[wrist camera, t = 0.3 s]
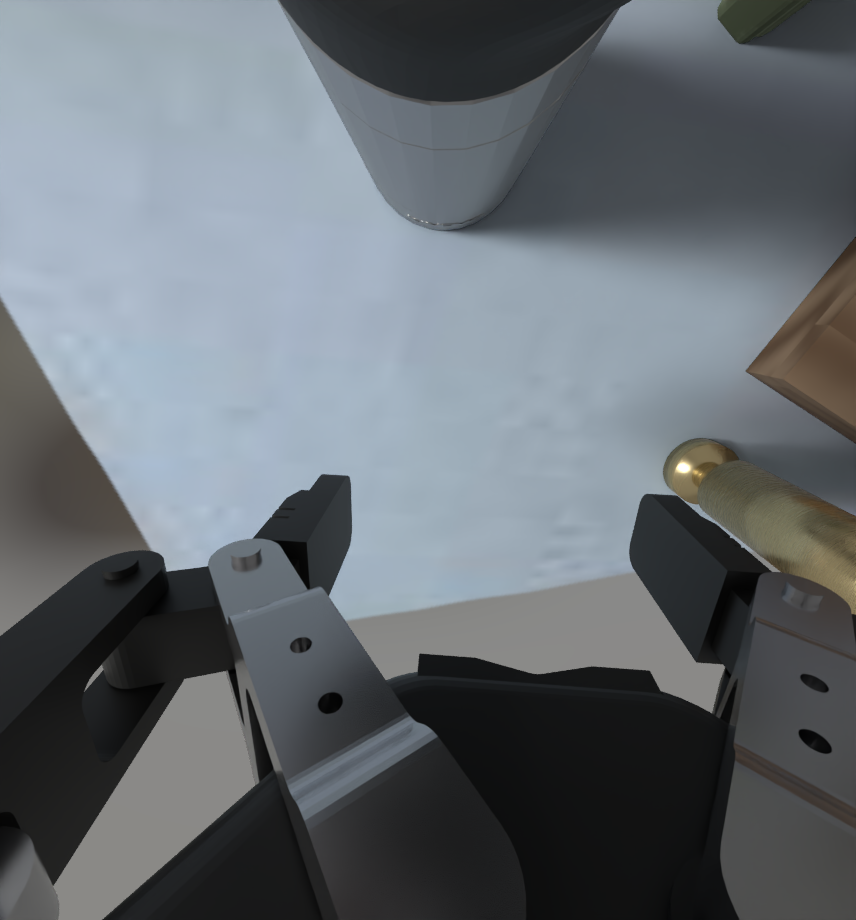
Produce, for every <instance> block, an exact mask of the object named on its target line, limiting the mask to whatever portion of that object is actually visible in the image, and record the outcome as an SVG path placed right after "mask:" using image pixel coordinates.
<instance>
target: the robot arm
mask: <svg viewBox="0 0 856 920" xmlns="http://www.w3.org/2000/svg"><path fill="white" fill-rule="evenodd" d="M630 1H631V0H278V2H279V4H280V6H281V8H282V10H283V12H284V14H285V15H286V17H287V19H288V21H289V23H290V25H291V27H292V29H293V30H294V32H295V34H296V36H297V38H298V40H299V41H300V43H301V45H302V47H303V49H304V51H305V53H306V54H307V56H308V58H309V60H310V62H311V64H312V65H313V67H314V69H315V71H316V73H317V75H318V77H319V78H320V80H321V82H322V84H323V86H324V88H325V90H326V92H327V94H328V95H329V97H330V99H331V101H332V103H333V105H334V107H335V109H336V111H337V112H338V114H339V116H340V118H341V120H342V122H343V124H344V126H345V128H346V130H347V131H348V133H349V135H350V137H351V139H352V141H353V143H354V145H355V147H356V148H357V150H358V152H359V154H360V156H361V158H362V160H363V162H364V164H365V166H366V168H367V170H368V172H369V173H370V175H371V177H372V179H373V181H374V183H375V185H376V186H377V188H378V190H379V191H380V193H381V194H382V196H383V197H384V199H385V200H386V202H387V203H388V204H389V205H390V206H391V207H392V208H393V209H394V210H395V211H396V212H397V213H398V214H399V215H401V216H403V217H404V218H406V219H407V220H409V221H410V222H412V223H414V224H416V225H419V226H422V227H425V228H428V229H435V230H452V229H459V228H463V227H466V226H468V225H471V224H473V223H476V222H478V221H479V220H481V219H482V218H484V217H485V216H487V215H488V214H490V213H491V212H492V211H493V210H494V209H495V208H496V207H497V206H498V205H499V204H500V203H501V202H502V201H503V200H504V198H505V197H506V195H507V194H508V192H509V191H510V189H511V188H512V186H513V185H514V183H515V181H516V180H517V178H518V176H519V175H520V174H521V172H522V170H523V169H524V167H525V165H526V164H527V162H528V160H529V159H530V157H531V155H532V154H533V152H534V150H535V149H536V147H537V145H538V144H539V142H540V140H541V139H542V137H543V135H544V134H545V132H546V131H547V129H548V127H549V126H550V124H551V122H552V121H553V119H554V117H555V116H556V114H557V112H558V111H559V109H560V107H561V106H562V104H563V102H564V101H565V99H566V97H567V96H568V94H569V92H570V91H571V89H572V87H573V86H574V84H575V82H576V81H577V79H578V77H579V76H580V74H581V72H582V71H583V69H584V67H585V66H586V64H587V62H588V60H589V58H590V57H591V55H592V53H593V52H594V50H595V48H596V47H597V45H598V43H599V42H600V40H601V38H602V37H603V35H604V33H605V32H606V30H607V28H608V27H609V25H610V23H611V22H612V20H613V18H614V17H615V15H616V13H617V12H618V10H619V8H620V7H621V6H623V5H625V4H626V3H628V2H630ZM351 534H352V511H351V482H350V478H349V476H343V475H326V474H322V475H321V476H320V477H319V478H318V480H317V481H316V482H315V484H314V485H313V486H312V488H311V489H310V490H309V491H308V490H301V491H299V492H297V493H295V494H293V495H291V496H289V497H288V498H286V500H285V501H284V502H283V503H282V504H281V506H280V507H279V509H277V510H276V511H275V513H274V514H273V515H272V517H270V519H269V520H268V521H267V522H266V523H265V525H264V526H263V527H262V528H261V529H260V531H259V532H258V533H257V534H256V535H255V536H254V538H253V539H246V540H241V541H237V542H233V543H231V544H228V545H226V546H224V547H222V548H220V549H219V550H217V551H216V552H215V553H214V554H213V555H212V556H211V557H210V559H209V562H208V566H207V567H201V568H193V569H185V570H177V571H169V572H166V568H165V563H164V558H163V557H162V556H161V555H160V554H159V553H156V552H152V551H130V552H124V553H120V554H116V555H113V556H110V557H107V558H104V559H102V560H100V561H98V562H95V563H94V564H92V565H90V566H89V567H87V568H86V569H85V570H83V571H82V572H81V573H79V574H78V575H77V576H76V577H74V578H73V579H72V580H71V581H69V582H68V583H67V584H66V585H64V586H63V587H62V588H61V589H59V590H58V591H57V592H55V593H54V594H53V595H52V596H51V597H49V598H48V599H47V600H45V601H44V602H43V603H42V604H40V605H39V606H38V607H37V608H35V609H34V610H33V611H32V612H30V613H29V614H28V615H26V616H25V617H24V618H23V619H21V620H20V621H19V622H18V623H16V624H15V625H14V626H13V627H11V628H10V629H9V630H8V631H6V632H5V633H4V634H3V635H1V636H0V920H58V917H59V901H58V896H57V894H56V891H55V889H54V887H53V885H54V884H55V882H56V881H57V879H58V878H59V876H60V875H61V873H62V871H63V870H64V868H65V867H66V865H67V864H68V862H69V860H70V859H71V857H72V856H73V854H74V853H75V851H76V849H77V848H78V846H79V845H80V843H81V842H82V840H83V838H84V837H85V835H86V834H87V832H88V830H89V829H90V827H91V825H92V824H93V822H94V821H95V819H96V818H97V816H98V815H99V813H100V812H101V810H102V808H103V807H104V805H105V804H106V802H107V801H108V799H109V797H110V796H111V794H112V793H113V791H114V789H115V788H116V786H117V785H118V783H119V782H120V780H121V778H122V777H123V775H124V774H125V772H126V770H127V769H128V767H129V766H130V764H131V763H132V761H133V759H134V758H135V756H136V754H137V753H138V752H139V750H140V748H141V747H142V745H143V744H144V742H145V741H146V739H147V737H148V736H149V734H150V733H151V731H152V730H153V728H154V726H155V725H156V723H157V722H158V720H159V718H160V717H161V715H162V714H163V712H164V711H165V709H166V707H167V706H168V704H169V703H170V701H171V700H172V698H173V696H174V695H175V693H176V692H177V690H178V689H179V687H180V685H181V684H182V682H183V680H184V679H186V678H191V677H196V676H202V675H207V674H211V673H217V672H223V671H226V673H227V678H228V681H229V685H230V688H231V692H232V695H233V699H234V702H235V706H236V710H237V713H238V716H239V720H240V724H241V727H242V731H243V734H244V738H245V742H246V745H247V750H248V754H249V758H250V763H251V768H252V773H253V777H254V781H255V786H254V787H253V788H252V789H251V790H250V791H249V792H248V793H246V794H245V795H244V796H243V797H242V798H241V799H239V801H237V802H236V803H235V804H234V805H233V806H231V807H230V808H229V809H228V810H227V811H226V812H225V813H224V814H222V815H221V816H220V817H219V818H218V819H217V820H216V821H214V822H213V823H212V824H211V825H210V826H209V827H208V828H206V829H205V830H204V831H203V832H202V833H201V834H200V835H198V836H197V837H196V838H195V839H194V840H193V841H192V842H191V843H189V844H188V845H187V846H186V847H185V848H184V849H183V850H181V851H180V852H179V853H178V854H177V855H176V856H174V857H173V858H172V859H171V860H170V861H169V862H168V863H167V864H165V865H164V866H163V867H162V868H161V869H160V870H158V871H157V872H156V873H155V874H154V875H153V876H152V877H150V878H149V879H148V880H147V881H146V882H145V883H144V884H142V885H141V886H140V887H139V888H138V889H137V890H136V891H135V892H134V893H132V894H131V895H130V896H129V897H128V898H126V899H125V900H124V901H123V902H122V903H121V904H120V905H118V906H117V907H116V908H115V909H114V910H113V911H112V912H110V913H109V914H108V915H107V916H106V917H105V918H104V919H102V920H856V615H855V614H852V613H851V608H850V606H849V605H848V603H847V602H846V601H845V600H844V599H843V598H842V597H840V596H839V595H838V594H836V593H835V592H833V591H832V590H830V589H828V588H826V587H824V586H822V585H820V584H818V583H816V582H814V581H811V580H809V579H806V578H803V577H800V576H796V575H792V574H788V573H782V572H772V571H770V570H769V569H768V568H767V567H766V566H765V565H763V564H762V563H761V562H760V561H758V559H756V558H755V557H754V556H753V555H752V554H751V553H749V552H748V551H747V550H746V549H745V548H741V545H740V544H739V543H738V542H737V541H735V540H734V539H733V538H730V536H729V535H728V534H727V533H726V532H725V531H724V530H722V529H721V528H720V527H719V526H718V525H716V524H715V523H713V522H711V521H709V520H707V519H705V518H703V517H701V516H700V515H699V514H698V513H697V512H695V511H694V510H693V509H692V508H691V507H690V506H689V505H687V504H686V503H685V502H684V501H683V500H682V499H681V498H679V497H678V496H675V495H658V494H646V495H644V496H643V497H642V499H641V502H640V505H639V509H638V513H637V517H636V522H635V526H634V530H633V534H632V538H631V542H630V549H629V554H630V561H631V564H632V567H633V569H634V570H635V572H636V573H637V575H638V576H639V578H640V579H641V581H642V582H643V584H644V585H645V587H646V588H647V590H648V591H649V593H650V594H651V595H652V597H653V598H654V600H655V601H656V603H657V604H658V606H659V607H660V609H661V610H662V612H663V613H664V615H665V616H666V618H667V619H668V621H669V622H670V624H671V625H672V627H673V628H674V630H675V631H676V633H677V634H678V636H679V637H680V639H681V640H682V642H683V643H684V645H685V646H686V648H687V649H688V651H689V652H690V654H691V655H692V657H693V658H694V660H695V661H696V662H699V663H712V664H723V665H724V666H725V669H724V672H723V675H722V677H721V680H720V683H719V687H718V691H717V695H716V699H715V704H714V707H713V711H712V713H710V712H708V711H706V710H704V709H703V708H701V707H699V706H697V705H695V704H692V703H690V702H688V701H686V700H684V699H682V698H679V697H676V696H673V695H671V694H668V693H665V692H661V691H660V689H659V687H658V686H657V684H656V682H655V680H654V678H653V676H652V674H651V672H650V671H646V670H633V669H619V668H606V667H586V668H579V669H572V670H566V671H559V672H552V673H546V674H532V673H527V672H524V671H520V670H516V669H513V668H509V667H506V666H502V665H499V664H495V663H492V662H488V661H485V660H481V659H478V658H471V657H457V656H443V655H430V654H419V664H418V672H414V673H408V674H405V675H401V676H397V677H394V678H391V679H389V680H385V679H384V677H383V676H382V674H381V673H380V671H379V670H378V668H377V667H376V665H375V664H374V663H373V661H372V660H371V658H370V657H369V655H368V654H367V652H366V651H365V649H364V648H363V646H362V645H361V643H360V642H359V641H358V639H357V638H356V636H355V635H354V633H353V632H352V630H351V629H350V628H349V626H348V624H347V623H346V621H345V620H344V618H343V617H342V615H341V614H340V613H339V611H338V610H337V608H336V607H335V605H334V604H333V602H332V601H331V599H330V598H329V594H330V592H331V590H332V587H333V585H334V582H335V580H336V578H337V575H338V573H339V571H340V568H341V566H342V563H343V561H344V559H345V556H346V554H347V551H348V549H349V546H350V542H351ZM101 665H102V666H103V669H104V670H103V671H102V672H101V674H100V675H99V676H98V677H97V678H96V679H95V680H94V682H93V683H92V684H91V685H90V686H89V687H88V688H87V690H86V691H85V692H84V690H85V688H86V685H87V683H88V681H89V679H90V678H91V676H92V675H93V674H94V672H95V671H96V670H97V669H98V668H99V667H100V666H101Z"/></svg>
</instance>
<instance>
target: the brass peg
mask: <svg viewBox="0 0 856 920" xmlns="http://www.w3.org/2000/svg"><path fill="white" fill-rule="evenodd" d="M663 476H664V480H665V483H666V484H667V486H668V487H669V488H670V489H671V490H672V491H673V492H675V493H676V494H677V495H678V496H680V497H681V498H682V499H684V500H685V501H687V502H689V503H693V504H699V505H700V507H701V509H702V510H703V511H704V512H705V513H706V514H707V515H709V516H710V517H711V518H713V519H714V520H715V521H716V522H718V523H719V524H720V525H722V526H723V527H724V528H725V529H727V530H728V531H729V532H731V533H732V534H733V535H734V536H736V537H737V538H738V539H739V540H741V541H742V542H743V543H745V544H746V545H747V546H748V547H750V548H751V549H752V550H754V551H755V552H756V553H757V554H759V555H760V556H761V557H763V558H764V559H765V560H766V561H768V562H769V563H770V564H771V565H773V566H774V567H775V568H777V569H778V570H779V571H780V572H782V573H788V574H792V575H796V576H800V577H803V578H806V579H809V580H811V581H814V582H816V583H818V584H820V585H822V586H824V587H826V588H828V589H830V590H832V591H833V592H835V593H836V594H838V595H839V596H840V597H842V598H843V599H844V600H845V601H846V602H847V603H848V605H849V606H850V608H851V613H852V614H855V615H856V516H854V515H852V514H850V513H848V512H846V511H844V510H842V509H840V508H838V507H836V506H834V505H832V504H830V503H828V502H826V501H824V500H822V499H820V498H818V497H816V496H815V495H813V494H811V493H809V492H807V491H805V490H803V489H801V488H799V487H797V486H795V485H793V484H791V483H789V482H787V481H785V480H783V479H781V478H779V477H777V476H775V475H773V474H771V473H769V472H767V471H765V470H763V469H761V468H759V467H757V466H755V465H753V464H751V463H749V462H746V461H739V459H738V457H737V455H736V454H735V453H734V452H733V451H732V450H730V449H729V448H727V447H725V446H723V445H721V444H719V443H717V442H715V441H713V440H710V439H704V438H698V439H692V440H689V441H686V442H684V443H682V444H680V445H679V446H678V447H676V448H675V449H674V450H673V451H672V452H671V453H670V455H669V456H668V458H667V459H666V462H665V464H664V468H663Z"/></svg>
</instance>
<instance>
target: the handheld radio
mask: <svg viewBox="0 0 856 920" xmlns="http://www.w3.org/2000/svg"><path fill="white" fill-rule="evenodd" d="M810 1H811V0H722V1H721V3H720V5H719V7H718V20H719V21H720V22H721V23H722V25H723V26H724V27H725V28H726V30H727V31H728V32H729V33H730V35H731V36H732V37H733V38H734V40H735V41H736V42H737V43H739V44H741V43H746V42H749V41H750V40H751V39H753V38H754V37H761V36H763V35H765V34H767V33H769V32H770V31H772V30H773V29H775V28H776V27H777V26H779V25H780V24H781V23H783V22H784V21H785V20H786V19H788V18H789V17H790V16H792V15H793V14H794V13H796V12H797V11H798V10H800V9H801V8H802V7H804V6H805V5H806V4H807V3H809V2H810Z"/></svg>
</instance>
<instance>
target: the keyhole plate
mask: <svg viewBox="0 0 856 920" xmlns="http://www.w3.org/2000/svg"><path fill="white" fill-rule="evenodd" d="M746 372H747V373H749V374H750V375H752V376H754V377H755V378H757V379H758V380H760V381H761V382H763V383H764V384H766V385H767V386H769V387H770V388H772V389H773V390H775V391H776V392H778V393H779V394H781V395H783V396H784V397H786V398H787V399H789V400H790V401H792V402H793V403H795V404H796V405H798V406H799V407H801V408H802V409H804V410H805V411H807V412H808V413H810V414H812V415H813V416H815V417H816V418H818V419H819V420H821V421H822V422H824V423H825V424H827V425H828V426H830V427H831V428H833V429H834V430H836V431H837V432H839V433H841V434H842V435H844V436H845V437H847V438H848V439H850V440H851V441H853V442H854V443H856V237H855V238H854V240H853V241H852V242H851V243H850V244H849V246H848V247H847V248H846V249H845V251H844V252H843V253H842V254H841V255H840V257H839V258H838V259H837V260H836V262H835V263H834V264H833V265H832V266H831V268H830V269H829V270H828V271H827V272H826V274H825V275H824V276H823V277H822V279H821V280H820V281H819V282H818V283H817V285H816V286H815V287H814V288H813V290H812V291H811V292H810V293H809V294H808V296H807V297H806V298H805V299H804V301H803V302H802V303H801V304H800V305H799V307H798V308H797V309H796V310H795V311H794V313H793V314H792V315H791V316H790V318H789V319H788V320H787V321H786V322H785V324H784V325H783V326H782V327H781V329H780V330H779V331H778V332H777V333H776V335H775V336H774V337H773V338H772V340H771V341H770V342H769V343H768V344H767V346H766V347H765V348H764V349H763V350H762V352H761V353H760V354H759V355H758V357H757V358H756V359H755V360H754V361H753V363H752V364H751V365H750V366H749V368H748V369H747V370H746Z"/></svg>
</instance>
